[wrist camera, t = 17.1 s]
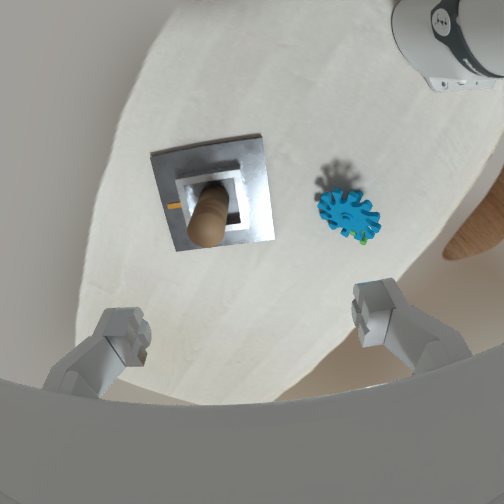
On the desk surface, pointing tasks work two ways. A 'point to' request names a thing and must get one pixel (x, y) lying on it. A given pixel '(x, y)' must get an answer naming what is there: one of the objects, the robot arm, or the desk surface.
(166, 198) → the square frame on plate
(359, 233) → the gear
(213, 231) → the pin
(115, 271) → the desk surface
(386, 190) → the desk surface
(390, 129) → the desk surface
